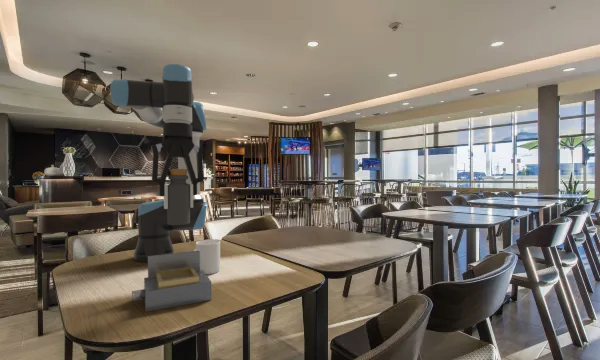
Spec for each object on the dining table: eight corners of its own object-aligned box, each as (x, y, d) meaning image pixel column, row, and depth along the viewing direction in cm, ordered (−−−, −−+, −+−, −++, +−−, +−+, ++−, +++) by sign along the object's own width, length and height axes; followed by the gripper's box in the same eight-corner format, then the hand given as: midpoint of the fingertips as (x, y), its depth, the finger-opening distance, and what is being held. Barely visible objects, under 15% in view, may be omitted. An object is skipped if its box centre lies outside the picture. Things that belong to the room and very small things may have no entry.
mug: (198, 279, 104) (198, 247, 104) (181, 275, 108) (181, 245, 108) (225, 270, 114) (225, 241, 114) (208, 266, 118) (208, 238, 118)
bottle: (184, 221, 92) (183, 169, 92) (193, 223, 88) (193, 169, 88) (163, 223, 88) (163, 169, 88) (172, 226, 84) (172, 168, 84)
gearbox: (132, 297, 88) (131, 257, 88) (202, 286, 97) (202, 250, 97) (132, 314, 78) (131, 269, 78) (211, 300, 87) (211, 259, 86)
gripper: (139, 118, 80) (140, 211, 80) (215, 124, 89) (216, 207, 89) (139, 122, 87) (140, 208, 87) (209, 127, 96) (210, 205, 96)
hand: (178, 207), depth 88 cm, fingers closed on bottle, 6 cm apart
